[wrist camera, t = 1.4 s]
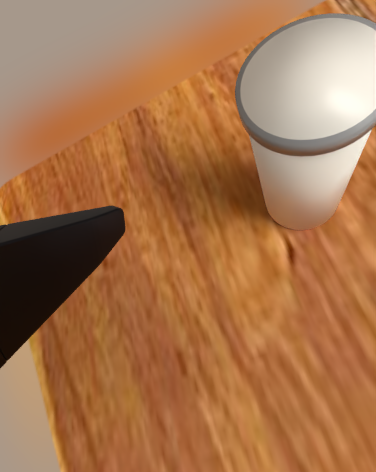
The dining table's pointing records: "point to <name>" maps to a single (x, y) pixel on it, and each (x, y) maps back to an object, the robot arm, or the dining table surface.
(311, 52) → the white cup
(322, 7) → the dining table surface
